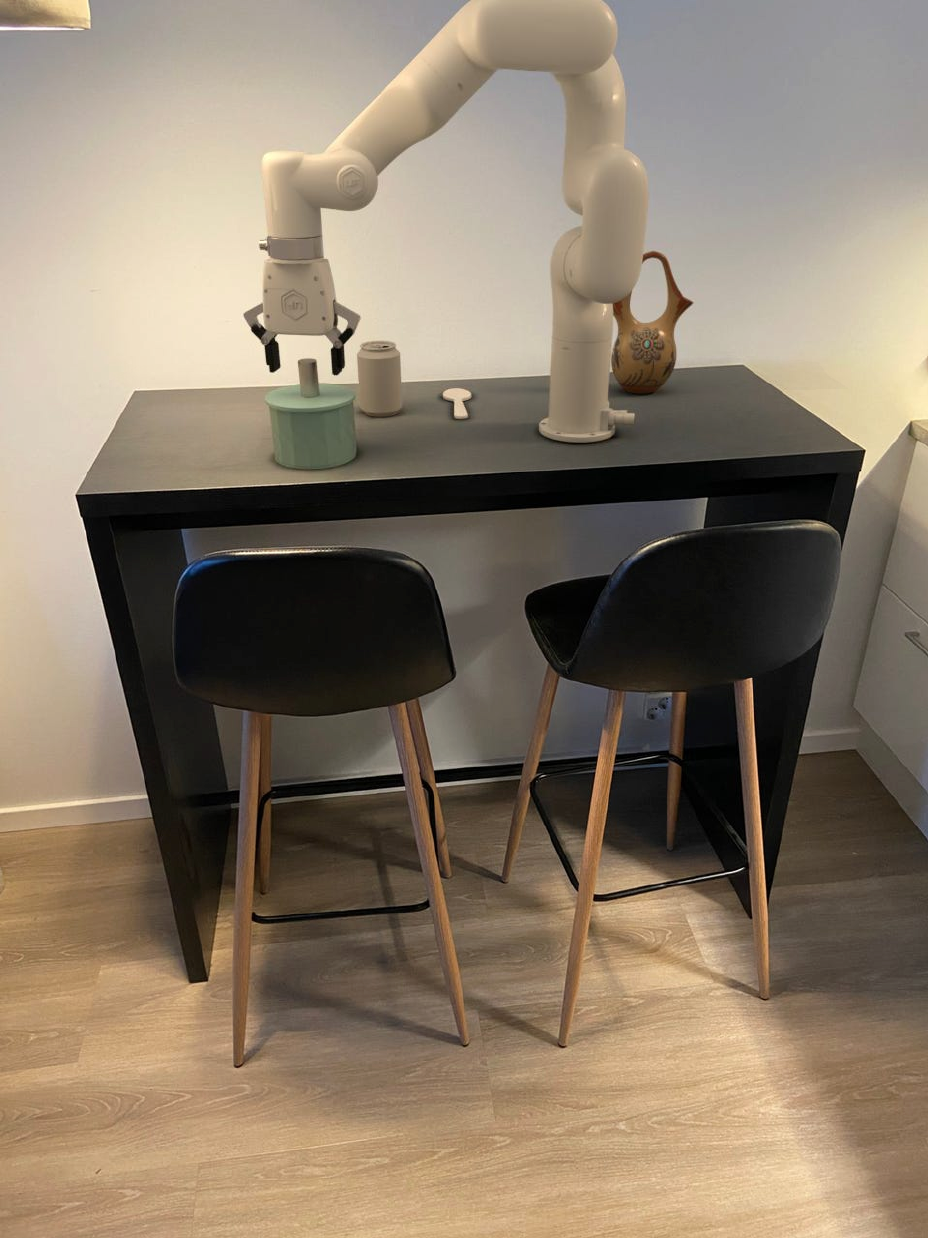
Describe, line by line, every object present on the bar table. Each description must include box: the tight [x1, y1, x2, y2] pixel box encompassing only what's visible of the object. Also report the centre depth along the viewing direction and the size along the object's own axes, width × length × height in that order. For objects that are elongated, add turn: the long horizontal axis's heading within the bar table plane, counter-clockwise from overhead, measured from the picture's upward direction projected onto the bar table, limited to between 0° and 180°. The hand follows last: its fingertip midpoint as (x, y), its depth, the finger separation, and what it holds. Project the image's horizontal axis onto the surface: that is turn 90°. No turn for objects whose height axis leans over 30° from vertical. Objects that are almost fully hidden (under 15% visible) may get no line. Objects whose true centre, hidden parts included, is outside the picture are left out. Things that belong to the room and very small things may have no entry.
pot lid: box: [264, 357, 356, 412], centre depth 137 cm, size 14×14×6 cm
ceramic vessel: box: [610, 250, 694, 395], centre depth 167 cm, size 16×9×25 cm, turn 93°
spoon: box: [442, 387, 472, 420], centre depth 166 cm, size 5×18×1 cm, turn 3°
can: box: [356, 340, 403, 418], centre depth 160 cm, size 8×8×12 cm
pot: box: [268, 401, 358, 471], centre depth 141 cm, size 13×13×9 cm
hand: (306, 371), depth 136 cm, fingers open, 9 cm apart
